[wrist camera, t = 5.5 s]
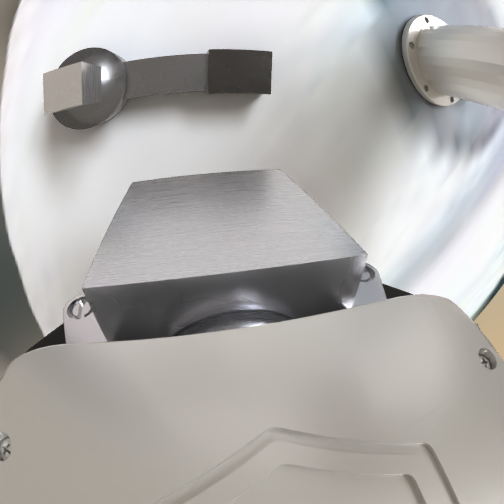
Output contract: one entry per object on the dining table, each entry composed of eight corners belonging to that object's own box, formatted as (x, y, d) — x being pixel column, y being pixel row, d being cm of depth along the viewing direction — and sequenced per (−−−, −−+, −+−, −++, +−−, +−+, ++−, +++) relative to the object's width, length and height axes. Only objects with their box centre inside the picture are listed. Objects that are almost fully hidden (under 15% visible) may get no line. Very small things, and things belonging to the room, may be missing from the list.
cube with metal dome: (279, 169, 11) (392, 281, 5) (273, 283, 14) (329, 413, 8) (132, 182, 10) (69, 325, 4) (156, 297, 13) (156, 442, 7)
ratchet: (263, 40, 19) (293, 22, 13) (261, 110, 23) (289, 117, 17) (62, 62, 15) (21, 57, 9) (65, 131, 19) (26, 148, 13)
